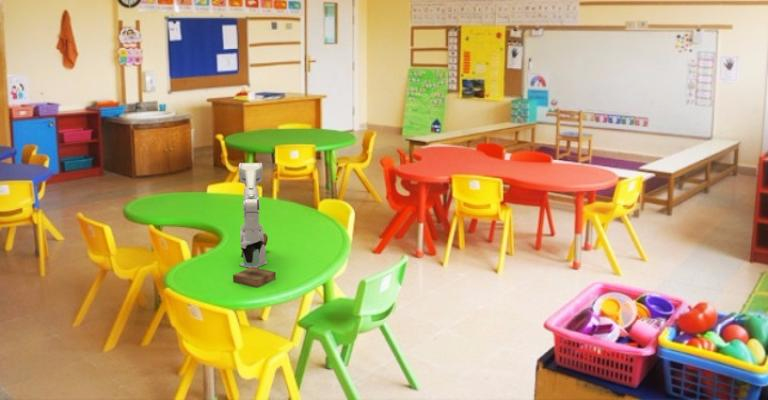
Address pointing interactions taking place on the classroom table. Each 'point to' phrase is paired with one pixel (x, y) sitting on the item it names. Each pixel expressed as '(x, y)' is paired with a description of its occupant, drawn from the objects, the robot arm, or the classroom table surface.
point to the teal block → (255, 259)
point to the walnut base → (254, 277)
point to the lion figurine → (263, 243)
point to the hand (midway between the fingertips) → (252, 260)
